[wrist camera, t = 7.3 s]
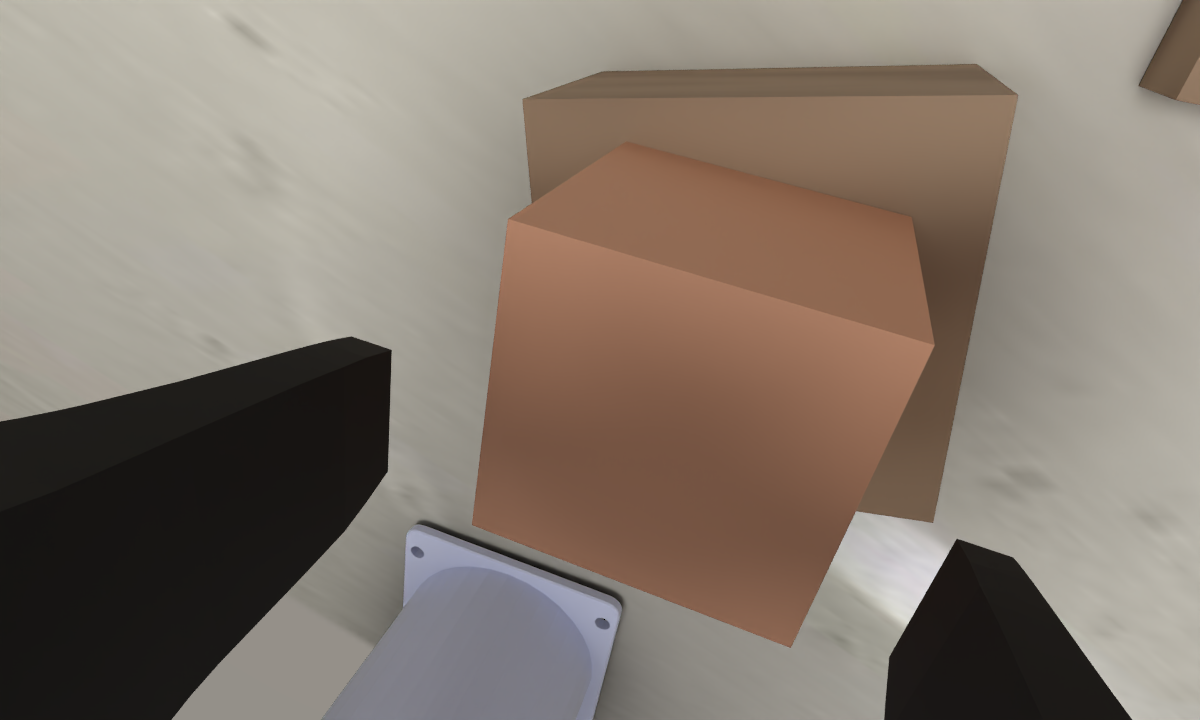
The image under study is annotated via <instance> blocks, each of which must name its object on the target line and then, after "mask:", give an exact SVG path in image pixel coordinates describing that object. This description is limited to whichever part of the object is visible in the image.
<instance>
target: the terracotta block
mask: <svg viewBox="0 0 1200 720" xmlns="http://www.w3.org/2000/svg"><path fill="white" fill-rule="evenodd" d="M934 346H935V344H934V338H933V333H932V327H931V321H930V316H929V310H928V305H927V299H926V293H925V288H924V282H923V277H922V271H921V265H920V260H919V254H918V249H917V243H916V237H915V232H914V226H913V221H912V217H910V216H906V215H902V214H898V213H895V212H891V211H887V210H883V209H880V208H876V207H872V206H868V205H864V204H861V203H857V202H853V201H849V200H846V199H842V198H838V197H834V196H830V195H827V194H823V193H819V192H815V191H812V190H808V189H804V188H800V187H796V186H793V185H789V184H785V183H781V182H778V181H774V180H770V179H766V178H762V177H759V176H755V175H751V174H747V173H744V172H740V171H736V170H732V169H728V168H725V167H721V166H717V165H713V164H710V163H706V162H702V161H698V160H694V159H691V158H687V157H683V156H679V155H676V154H672V153H668V152H664V151H660V150H657V149H653V148H649V147H645V146H642V145H638V144H634V143H630V142H624V143H623V144H621V145H620V146H618V147H617V148H615V149H614V150H612V151H611V152H609V153H608V154H606V155H605V156H603V157H602V158H600V159H599V160H597V161H596V162H594V163H592V164H591V165H589V166H588V167H586V168H585V169H583V170H582V171H580V172H579V173H577V174H576V175H574V176H573V177H571V178H570V179H568V180H567V181H565V182H564V183H562V184H561V185H559V186H558V187H556V188H555V189H553V190H552V191H550V192H549V193H547V194H546V195H544V196H542V197H541V198H539V199H538V200H536V201H535V202H533V203H532V204H530V205H529V206H527V207H526V208H524V209H523V210H521V211H520V212H518V213H517V214H515V215H514V216H512V217H511V218H509V219H508V224H507V233H506V241H505V250H504V258H503V266H502V275H501V283H500V292H499V300H498V309H497V317H496V326H495V334H494V343H493V351H492V360H491V368H490V377H489V385H488V393H487V402H486V410H485V419H484V427H483V436H482V444H481V453H480V461H479V470H478V478H477V487H476V495H475V504H474V512H473V520H472V525H473V526H476V527H478V528H481V529H484V530H486V531H489V532H491V533H494V534H497V535H499V536H502V537H504V538H507V539H510V540H512V541H515V542H517V543H520V544H523V545H525V546H528V547H530V548H533V549H536V550H538V551H541V552H543V553H546V554H548V555H551V556H554V557H556V558H559V559H561V560H564V561H567V562H569V563H572V564H574V565H577V566H580V567H582V568H585V569H587V570H590V571H593V572H595V573H598V574H600V575H603V576H606V577H608V578H611V579H613V580H616V581H619V582H621V583H624V584H626V585H629V586H631V587H634V588H637V589H639V590H642V591H644V592H647V593H650V594H652V595H655V596H657V597H660V598H663V599H665V600H668V601H670V602H673V603H676V604H678V605H681V606H683V607H686V608H689V609H691V610H694V611H696V612H699V613H702V614H704V615H707V616H709V617H712V618H714V619H717V620H720V621H722V622H725V623H727V624H730V625H733V626H735V627H738V628H740V629H743V630H746V631H748V632H751V633H753V634H756V635H759V636H761V637H764V638H766V639H769V640H772V641H774V642H777V643H779V644H782V645H785V646H787V647H790V648H791V646H792V644H793V642H794V640H795V638H796V636H797V634H798V632H799V629H800V627H801V625H802V623H803V621H804V619H805V617H806V615H807V613H808V611H809V608H810V606H811V604H812V602H813V600H814V598H815V596H816V594H817V592H818V590H819V587H820V585H821V583H822V581H823V579H824V577H825V575H826V573H827V571H828V569H829V566H830V564H831V562H832V560H833V558H834V556H835V554H836V552H837V550H838V548H839V545H840V543H841V541H842V539H843V537H844V535H845V533H846V531H847V529H848V526H849V524H850V522H851V520H852V518H853V516H854V514H855V512H856V510H857V508H858V505H859V503H860V501H861V499H862V497H863V495H864V493H865V491H866V489H867V487H868V484H869V482H870V480H871V478H872V476H873V474H874V472H875V470H876V468H877V466H878V463H879V461H880V459H881V457H882V455H883V453H884V451H885V449H886V447H887V445H888V442H889V440H890V438H891V436H892V434H893V432H894V430H895V428H896V426H897V424H898V421H899V419H900V417H901V415H902V413H903V411H904V409H905V407H906V405H907V403H908V400H909V398H910V396H911V394H912V392H913V390H914V388H915V386H916V384H917V381H918V379H919V377H920V375H921V373H922V371H923V369H924V367H925V365H926V363H927V360H928V358H929V356H930V354H931V352H932V350H933V348H934Z"/></svg>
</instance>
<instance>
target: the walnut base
mask: <svg viewBox="0 0 1200 720" xmlns="http://www.w3.org/2000/svg"><path fill="white" fill-rule="evenodd" d="M1017 98H1018V95H1017V94H1016V93H1015V92H1013V91H1012V90H1011V89H1009V88H1008V87H1007V86H1005V85H1004V84H1003V83H1001V82H1000V81H999V80H997V79H996V78H995V77H993V76H992V75H991V74H989V73H988V72H987V71H985V70H984V69H983V68H981V67H980V66H979V65H977V64H960V65H909V66H859V67H808V68H758V69H707V70H657V71H606V72H600V73H597V74H594V75H591V76H588V77H585V78H583V79H580V80H577V81H574V82H571V83H568V84H565V85H562V86H559V87H556V88H553V89H551V90H548V91H545V92H542V93H539V94H536V95H533V96H530V97H527V98H524V99H523V110H524V121H525V132H526V144H527V155H528V166H529V177H530V188H531V199H532V203H533V202H535V201H536V200H538V199H539V198H541V197H542V196H544V195H546V194H547V193H549V192H550V191H552V190H553V189H555V188H556V187H558V186H559V185H561V184H562V183H564V182H565V181H567V180H568V179H570V178H571V177H573V176H574V175H576V174H577V173H579V172H580V171H582V170H583V169H585V168H586V167H588V166H589V165H591V164H592V163H594V162H596V161H597V160H599V159H600V158H602V157H603V156H605V155H606V154H608V153H609V152H611V151H612V150H614V149H615V148H617V147H618V146H620V145H621V144H623V143H624V142H630V143H634V144H638V145H642V146H645V147H649V148H653V149H657V150H660V151H664V152H668V153H672V154H676V155H679V156H683V157H687V158H691V159H694V160H698V161H702V162H706V163H710V164H713V165H717V166H721V167H725V168H728V169H732V170H736V171H740V172H744V173H747V174H751V175H755V176H759V177H762V178H766V179H770V180H774V181H778V182H781V183H785V184H789V185H793V186H796V187H800V188H804V189H808V190H812V191H815V192H819V193H823V194H827V195H830V196H834V197H838V198H842V199H846V200H849V201H853V202H857V203H861V204H864V205H868V206H872V207H876V208H880V209H883V210H887V211H891V212H895V213H898V214H902V215H906V216H910V217H912V221H913V226H914V232H915V237H916V243H917V249H918V254H919V260H920V265H921V271H922V277H923V282H924V288H925V293H926V299H927V305H928V310H929V316H930V321H931V327H932V333H933V338H934V344H935V346H934V348H933V350H932V352H931V354H930V356H929V358H928V360H927V363H926V365H925V367H924V369H923V371H922V373H921V375H920V377H919V379H918V381H917V384H916V386H915V388H914V390H913V392H912V394H911V396H910V398H909V400H908V403H907V405H906V407H905V409H904V411H903V413H902V415H901V417H900V419H899V421H898V424H897V426H896V428H895V430H894V432H893V434H892V436H891V438H890V440H889V442H888V445H887V447H886V449H885V451H884V453H883V455H882V457H881V459H880V461H879V463H878V466H877V468H876V470H875V472H874V474H873V476H872V478H871V480H870V482H869V484H868V487H867V489H866V491H865V493H864V495H863V497H862V499H861V501H860V503H859V505H858V508H857V510H856V511H859V512H865V513H872V514H879V515H885V516H892V517H898V518H905V519H912V520H918V521H925V522H932V523H933V521H934V516H935V511H936V506H937V501H938V496H939V490H940V485H941V480H942V475H943V470H944V465H945V460H946V455H947V450H948V445H949V440H950V435H951V430H952V425H953V420H954V415H955V410H956V405H957V400H958V395H959V390H960V385H961V380H962V375H963V370H964V365H965V360H966V355H967V350H968V345H969V340H970V335H971V330H972V325H973V319H974V314H975V309H976V304H977V299H978V294H979V289H980V284H981V279H982V274H983V269H984V264H985V259H986V254H987V249H988V244H989V239H990V234H991V229H992V224H993V219H994V214H995V209H996V204H997V199H998V194H999V189H1000V184H1001V179H1002V174H1003V169H1004V164H1005V159H1006V154H1007V148H1008V143H1009V138H1010V133H1011V128H1012V123H1013V118H1014V113H1015V108H1016V103H1017Z"/></svg>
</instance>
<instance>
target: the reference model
mask: <svg viewBox="0 0 1200 720" xmlns="http://www.w3.org/2000/svg"><path fill="white" fill-rule="evenodd" d="M1139 86H1140V87H1143V88H1146V89H1148V90H1151V91H1154V92H1156V93H1159V94H1161V95H1164V96H1167V97H1169V98H1172V99H1175V100H1179V101H1183V102H1188V103H1193V104H1198V105H1200V0H1183V1H1182V3H1181V5H1180V7H1179V9H1178V11H1177V13H1176V15H1175V16H1174V18H1173V20H1172V22H1171V24H1170V26H1169V28H1168V30H1167V32H1166V34H1165V36H1164V38H1163V40H1162V42H1161V44H1160V45H1159V47H1158V49H1157V51H1156V53H1155V55H1154V57H1153V59H1152V61H1151V63H1150V65H1149V67H1148V69H1147V71H1146V73H1145V75H1144V76H1143V78H1142V80H1141V82H1140V84H1139Z"/></svg>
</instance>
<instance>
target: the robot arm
mask: <svg viewBox="0 0 1200 720" xmlns="http://www.w3.org/2000/svg"><path fill="white" fill-rule="evenodd" d="M391 352H392V350H390V349H387V348H384V347H381V346H378V345H375V344H372V343H369V342H366V341H363V340H360V339H357V338H354V337H346V338H341V339H335V340H331V341H326V342H322V343H318V344H314V345H310V346H306V347H303V348H299V349H295V350H291V351H288V352H284V353H280V354H277V355H273V356H270V357H266V358H262V359H259V360H255V361H252V362H248V363H245V364H241V365H237V366H234V367H230V368H226V369H223V370H219V371H216V372H212V373H208V374H205V375H201V376H198V377H194V378H190V379H187V380H183V381H179V382H175V383H171V384H167V385H163V386H159V387H155V388H151V389H147V390H143V391H138V392H134V393H130V394H126V395H122V396H118V397H114V398H110V399H106V400H102V401H98V402H93V403H89V404H85V405H81V406H77V407H72V408H67V409H63V410H58V411H53V412H48V413H43V414H38V415H33V416H28V417H23V418H18V419H13V420H7V421H1V422H0V720H172V718H173V717H174V716H175V714H176V713H177V712H178V711H179V709H180V708H181V707H182V706H183V704H184V703H185V702H186V701H187V699H188V698H189V697H190V696H191V694H192V693H193V692H194V691H195V690H196V689H197V688H198V686H199V685H200V684H201V683H202V682H203V681H204V680H205V679H206V678H207V676H208V675H209V674H210V673H211V672H212V670H214V669H215V667H216V666H217V665H218V664H219V663H220V662H221V661H222V660H223V659H224V658H225V656H227V654H228V653H229V652H230V651H231V650H232V649H233V648H234V647H235V646H236V645H237V644H238V643H239V642H240V641H241V640H242V639H243V638H244V637H245V635H246V634H248V633H249V631H250V630H251V629H252V628H253V627H254V626H255V625H256V624H257V623H258V622H259V621H260V620H261V619H262V618H263V617H264V616H265V615H266V614H267V613H268V612H269V610H271V608H272V607H273V606H274V605H275V604H276V603H277V602H278V601H279V600H280V599H281V598H282V597H283V596H284V595H285V594H286V593H287V592H288V591H289V590H290V589H291V588H292V587H293V586H294V585H295V583H296V582H297V581H298V580H299V579H300V578H301V577H302V576H303V575H304V574H305V573H306V572H307V571H308V570H309V569H310V568H311V567H312V566H313V564H314V563H315V562H316V561H317V560H318V559H319V558H320V557H321V556H322V555H323V554H324V553H325V552H326V551H327V550H328V549H329V547H330V546H331V545H332V544H333V543H334V542H335V541H336V540H337V539H338V538H339V537H340V536H341V534H342V533H343V532H344V531H345V530H346V529H347V527H348V526H349V525H350V523H351V522H352V521H353V519H354V518H355V517H356V515H357V514H358V513H359V511H360V510H361V509H362V507H363V506H364V505H365V503H366V502H367V500H368V499H369V498H370V496H371V495H372V493H373V492H374V490H375V489H376V488H377V486H378V485H379V483H380V482H381V480H382V479H383V477H384V476H385V475H386V473H387V472H388V447H389V416H390V384H391ZM420 548H421V549H420ZM621 613H622V606H621V604H620V603H619V602H618V601H617V600H616V599H615V598H614V597H612V596H610V595H607V594H604V593H602V592H599V591H596V590H594V589H591V588H588V587H586V586H583V585H580V584H578V583H575V582H573V581H570V580H567V579H565V578H562V577H559V576H557V575H554V574H551V573H549V572H546V571H543V570H541V569H538V568H536V567H533V566H530V565H528V564H525V563H522V562H520V561H517V560H514V559H512V558H509V557H506V556H504V555H501V554H498V553H496V552H493V551H491V550H488V549H485V548H483V547H480V546H477V545H475V544H472V543H469V542H467V541H464V540H461V539H459V538H456V537H454V536H451V535H448V534H446V533H443V532H440V531H438V530H435V529H432V528H430V527H427V526H424V525H420V524H418V525H414V526H413V527H412V528H411V529H410V530H409V531H408V532H407V535H406V551H405V574H404V596H403V609H402V611H401V612H400V613H399V615H398V616H397V617H396V619H395V620H394V622H393V623H392V624H391V626H390V627H389V628H388V630H387V631H386V632H385V634H384V635H383V636H382V638H381V639H380V640H379V642H378V643H377V645H376V646H375V647H374V649H373V650H372V652H371V653H370V654H369V655H368V657H367V658H366V659H365V661H364V662H363V663H362V665H361V666H360V668H359V669H358V670H357V672H356V673H355V674H354V676H353V677H352V678H351V680H350V681H349V683H348V684H347V685H346V687H345V688H344V689H343V691H342V692H341V693H340V695H339V696H338V697H337V699H336V700H335V701H334V703H333V704H332V705H331V707H330V708H329V710H328V711H327V712H326V714H325V715H324V716H323V718H322V719H321V720H593V718H594V714H595V710H596V707H597V703H598V699H599V695H600V692H601V688H602V684H603V680H604V677H605V673H606V669H607V665H608V662H609V658H610V654H611V650H612V647H613V643H614V639H615V635H616V632H617V628H618V624H619V620H620V617H621ZM601 618H604V619H605V620H607V621H605V620H603V619H601ZM884 720H1132V719H1131V718H1130V716H1129V715H1128V713H1127V712H1126V711H1125V709H1124V708H1123V707H1122V705H1121V704H1120V703H1119V701H1118V700H1117V699H1116V697H1115V696H1114V695H1113V693H1112V692H1111V690H1110V689H1109V688H1108V686H1107V685H1106V683H1105V682H1104V681H1103V679H1102V678H1101V677H1100V675H1099V674H1098V672H1097V671H1096V670H1095V668H1094V667H1093V666H1092V664H1091V663H1090V661H1089V660H1088V659H1087V657H1086V656H1085V654H1084V653H1083V652H1082V650H1081V649H1080V647H1079V646H1078V645H1077V643H1076V642H1075V640H1074V639H1073V638H1072V636H1071V635H1070V633H1069V632H1068V631H1067V629H1066V628H1065V626H1064V625H1063V624H1062V622H1061V621H1060V619H1059V618H1058V617H1057V615H1056V614H1055V612H1054V611H1053V610H1052V608H1051V607H1050V605H1049V604H1048V603H1047V601H1046V600H1045V598H1044V597H1043V596H1042V594H1041V593H1040V592H1039V590H1038V589H1037V587H1036V586H1035V585H1034V583H1033V582H1032V581H1031V579H1030V578H1029V577H1028V575H1027V574H1026V573H1025V571H1024V570H1023V569H1022V568H1021V566H1020V565H1019V564H1018V563H1017V561H1016V560H1015V559H1014V558H1013V557H1010V556H1007V555H1004V554H1001V553H998V552H995V551H992V550H989V549H986V548H983V547H980V546H977V545H974V544H971V543H968V542H965V541H962V540H959V539H957V540H956V541H955V543H954V545H953V547H952V548H951V550H950V552H949V554H948V555H947V557H946V559H945V561H944V562H943V564H942V566H941V568H940V569H939V571H938V573H937V575H936V576H935V578H934V580H933V582H932V583H931V585H930V587H929V589H928V590H927V592H926V594H925V596H924V597H923V599H922V601H921V603H920V604H919V606H918V608H917V610H916V611H915V613H914V615H913V617H912V618H911V620H910V622H909V624H908V625H907V627H906V629H905V631H904V632H903V634H902V636H901V638H900V639H899V641H898V643H897V645H896V646H895V648H894V650H893V652H892V653H891V655H890V657H889V668H888V679H887V691H886V703H885V719H884Z"/></svg>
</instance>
